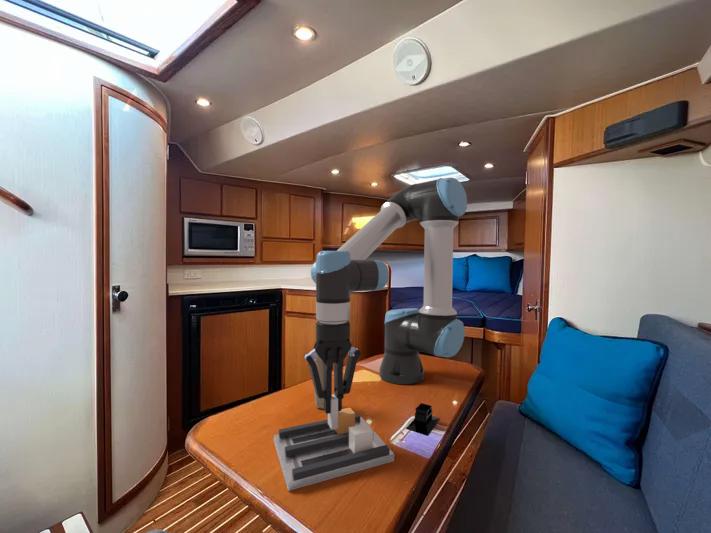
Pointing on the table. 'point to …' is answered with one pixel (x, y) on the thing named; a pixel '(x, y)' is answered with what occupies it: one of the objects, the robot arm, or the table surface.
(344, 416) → the toggle
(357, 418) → the slotted rail tray
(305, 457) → the panel
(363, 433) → the toggle
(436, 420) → the black notched stand
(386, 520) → the table surface
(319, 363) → the handle
